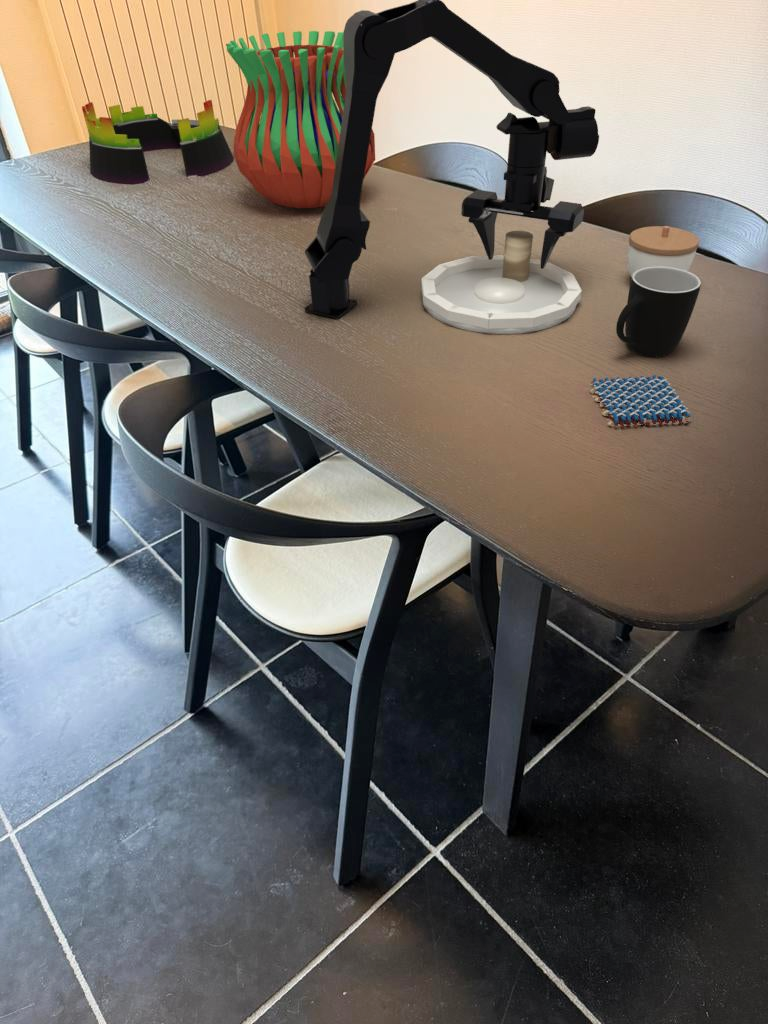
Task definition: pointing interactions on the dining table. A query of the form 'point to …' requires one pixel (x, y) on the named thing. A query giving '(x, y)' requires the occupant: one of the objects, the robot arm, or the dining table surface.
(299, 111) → the vase
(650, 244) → the lidded jar
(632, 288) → the mug
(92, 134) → the decorative container
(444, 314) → the ring tray
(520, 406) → the dining table surface
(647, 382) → the woven mat
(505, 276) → the tan rounded cylinder
